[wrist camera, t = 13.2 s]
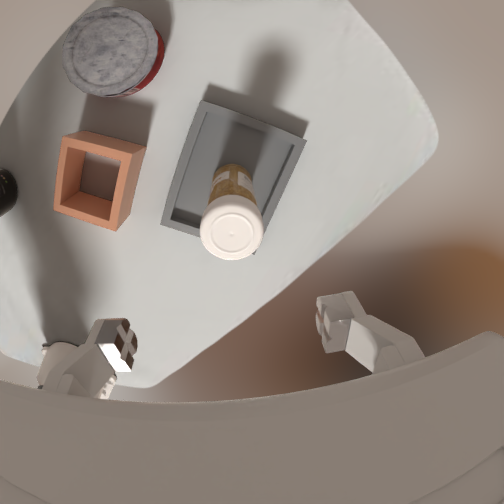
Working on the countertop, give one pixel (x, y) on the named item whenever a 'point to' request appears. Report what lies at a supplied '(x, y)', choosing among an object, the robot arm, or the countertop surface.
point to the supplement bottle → (7, 192)
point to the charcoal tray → (229, 152)
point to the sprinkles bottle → (231, 215)
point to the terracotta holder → (71, 172)
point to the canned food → (112, 52)
